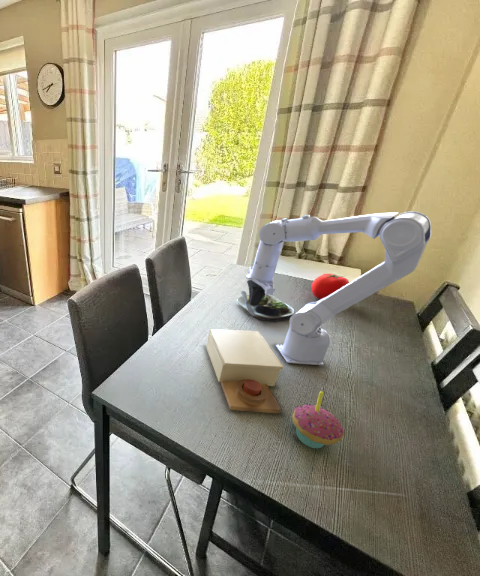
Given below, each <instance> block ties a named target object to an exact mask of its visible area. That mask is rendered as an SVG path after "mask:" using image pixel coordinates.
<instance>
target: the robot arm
mask: <svg viewBox="0 0 480 576" xmlns="http://www.w3.org/2000/svg"><path fill="white" fill-rule="evenodd" d="M351 233H353V234H354V233H362V234H365V235H366V236H368V237H370V238H371V239H374V240H375V239H377V238H378V237H379V238H380V242H381V244H382V246H383V248H384V261H382V262H381V263H379V264H378V265H376V266H374V267H373V268H371V269H369V270H368V271H366V272H365V273H363V274H361V275H360V276H357V277H356V278H355V279H353V280H352V281H349V283H348V284H347V285H345V286H343V287H342V288H340V289H338V290H337V291H335V292H334V293H332V294H330V295H329V296H327V297H325V298H323V299H318V300H317V301H311V302H308V303H306V304H304V305H303V306H302V308H300V309H299V310H298V311H297V312H295V313H294V314H293V315H292V316H291V317H289V327H288V330H287V332H286V336H285V339H284V341H283V344H275V347H276V348H277V350H278V351H279V353H280V354H281V356H282V357H283V358H284V360H285V361H286V363H288V364H296V365H297V364H298V365H316V366H324V362H323V360H324V358H325V356H326V354H327V352H328V349H329V347H330V335H329V333H328V332H327V331H326V330H325V329H323V328H322V325H323V324H325V323H326V322H327V321H329V320H330V319H332V318H333V317H335V316H336V315H338V314H339V313H341V312H343V311H345V310H347V309H348V308H350V307H353V306H354V305H356V304H358V303H360V302H361V301H363V300H365V299H367V298H369V297H370V296H372V295H374V294H376V293H378V292H379V291H381V290H383V289H385V288H387V287H388V286H391V285H392V284H394V283H396V282H397V281H400V280H401V279H403V278H405V277H406V276H408V275H410V274H412V273H413V272H414V271H415V270H416V269H417V267H418V266H419V263H420V262H421V259H422V257H423V254H424V253H425V250H426V247H427V245H428V243H429V241H430V239H431V237H432V223H431V220H430V218H429V217H428V216H427V215H426V214H424V213H422V212H419V211H413V210H412V211H404V212H401V213H399V211H398V212H397V211H395V212H391V211H390V212H378V213H369V214H363V215H354V216H349V217H341V218H335V219H334V218H333V219H326V220H322V219H320V218H318V217H317V216H311V215H310V214H304V215H302V216H301V217H300V218H291V219H288V218H287V217H285V218H281V219H279V220H277V219H276V220H274V221H270V222H267V223H266V224H264V225H262V226H261V228H260V229H259V231H258V237H259V244H258V247H257V250H256V255H255V258H254V262H253V265H252V266H249V267H248V271H247V274H246V275H245V276H246V277H245V278H246V280H247V281H246V283H247V287H248V295H249V303H250V305H255V306H257V305H258V304H259V303H260V301H261V300H262V298H263V297H264V296H265V295H271V296H274V294H275V291H276V288H275V286H274V275H275V272H276V269H277V266H278V263H279V260H280V256H281V254H282V249H283V246H284V244H285V242H286V243H293V242H304V241H305V242H306V241H316V240H317V239H318V238H320V237H321V235H333V234H351Z"/></svg>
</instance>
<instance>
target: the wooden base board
mask: <svg viewBox="0 0 480 576" xmlns="http://www.w3.org/2000/svg"><path fill="white" fill-rule="evenodd" d="M246 380H248V379H242V380H240V381H238V382H226V381H222V382H220V386H221V389H222V392H223V395H224V397H225V400H226V403H227V405H228V408H229V410H230V411H241V412H255V413H268V414H281V412H282V408H281V407H280V405H279V403H278V402H277V399H276V398H275V395H274V394H273V392H272V390H271V389H270V386H268V385H267V384H260V385H261V391H260V394H259V395H257V396H252V395H249V394H247V393H246V392H245V391H244V390H243V386H244V382H245V381H246Z"/></svg>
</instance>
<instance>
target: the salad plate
mask: <svg viewBox="0 0 480 576" xmlns="http://www.w3.org/2000/svg"><path fill="white" fill-rule="evenodd" d="M236 302H237V304H238V305H239V306H240V307H242V308H243V309H244V310H245V311H246V312H248V313H249V314H250V315H251V316H253V317H254V318H256V319H258V320H262V321H268V322H274V321H275V322H276V321H284V320H288V319H290V318H291V316H292V315H293V314H295V313H296V312H295V309H294V307H292V306H290V305H288V304H287V303H285V302H284V301H282V300H280V299H279V298H278V297H276V296H274V295H265V296H264V297H263V298H262V300H261V301H260V303H259V304H258V305H257V306H255V305H250V303H249V294H247V292H246V291H245V290H241V291H240V296H238V297H237V299H236Z"/></svg>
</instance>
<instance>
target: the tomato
mask: <svg viewBox="0 0 480 576" xmlns="http://www.w3.org/2000/svg"><path fill="white" fill-rule="evenodd" d="M348 283H350V281H349V279H347V278H346V277H345V275H343V276H340V275H337V274H334V273H323V274H321V275H319V276H317V277H316V278H315V279H314V280H313V281H312V283H311V293H312V295H313V296H314V297H315V298H316V299H318V300H321V299H323V298H325V297H327V296H329V295H330V294H332V293H334V292H335V291H337V290H338V289H340V288H342V287H343V286H345V285H347V284H348Z"/></svg>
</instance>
